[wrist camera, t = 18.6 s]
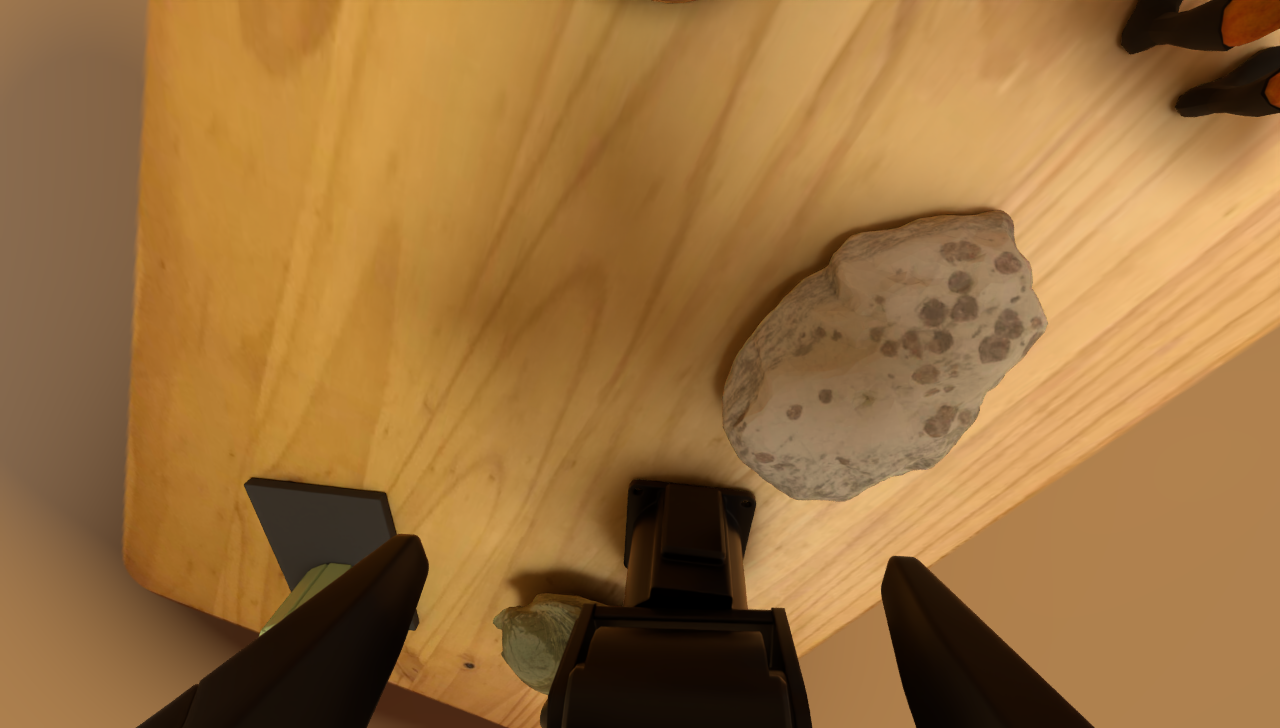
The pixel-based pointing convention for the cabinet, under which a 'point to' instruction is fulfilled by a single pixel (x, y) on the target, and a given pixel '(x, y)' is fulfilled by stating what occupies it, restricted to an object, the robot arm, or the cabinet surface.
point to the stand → (674, 1)
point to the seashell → (538, 636)
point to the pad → (320, 525)
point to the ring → (307, 590)
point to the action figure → (1235, 16)
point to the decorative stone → (882, 355)
